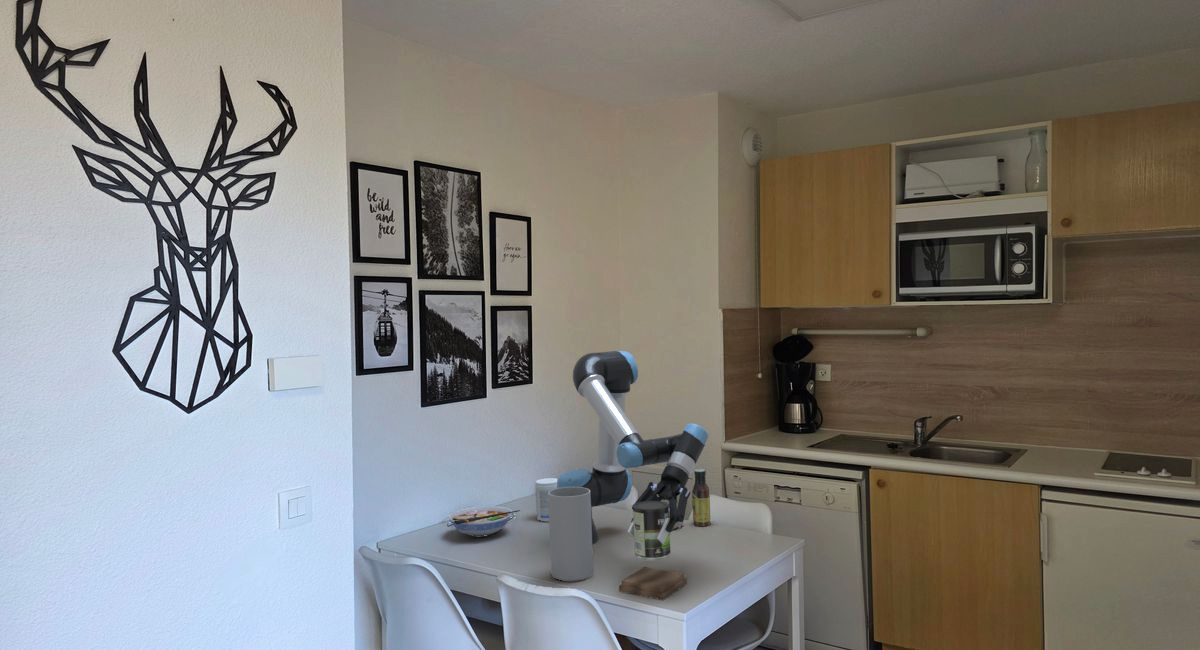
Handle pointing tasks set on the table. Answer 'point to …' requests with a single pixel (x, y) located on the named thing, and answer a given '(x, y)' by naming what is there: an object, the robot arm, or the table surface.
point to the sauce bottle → (701, 499)
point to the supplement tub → (544, 497)
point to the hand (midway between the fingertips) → (645, 537)
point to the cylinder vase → (570, 533)
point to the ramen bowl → (480, 519)
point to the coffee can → (650, 530)
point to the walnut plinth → (653, 582)
